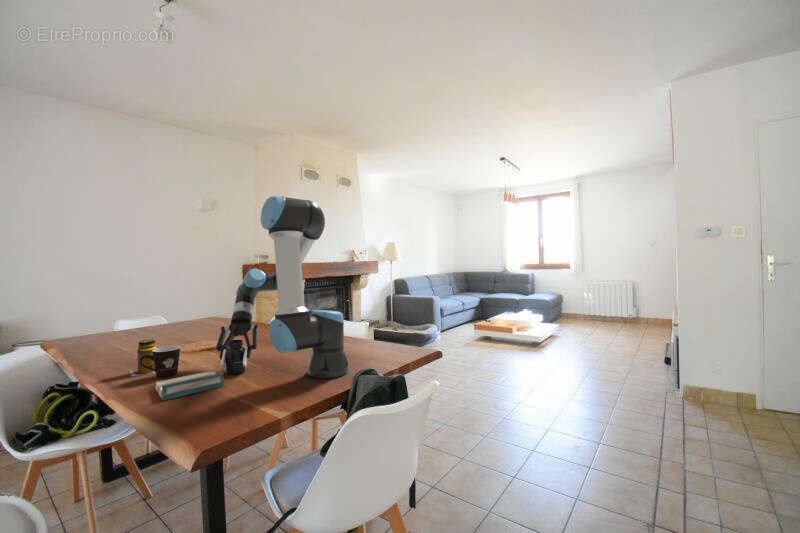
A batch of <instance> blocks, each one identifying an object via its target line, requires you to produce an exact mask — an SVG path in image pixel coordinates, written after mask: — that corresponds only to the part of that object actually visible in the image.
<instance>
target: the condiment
mask: <svg viewBox="0 0 800 533" xmlns="http://www.w3.org/2000/svg"><path fill="white" fill-rule="evenodd" d="M137 343H138V348H137V355H136V356H137V370H133V371H129V374H130V376H131V377H137V376H143V375H149V374H156V372H155V371H153V370H150V369H148V368H145V367H143V366H142V365H141V364H140V359H141V358H142V357H143V356H146V355H151V356H153V352H152V350H154V349H157V348H158V347H157V346H156V340H155V339H145V340H140V341H138V342H137ZM142 364H143V365H145V366H147V367H150V368H153V369H155V365H154V361H153V360H152V358H150V357H145V358H143V359H142Z"/></svg>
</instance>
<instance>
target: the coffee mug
mask: <svg viewBox="0 0 800 533" xmlns="http://www.w3.org/2000/svg"><path fill="white" fill-rule="evenodd" d="M152 352H153V356H151V355H146V356H143V357H142V358H141V359H140V364H141V365H142V366H143V367H145V368H148V369H150V370H153V371H155V375H156V376H155V377H156V379H159V380H161V379H163V380H166V379H169V378H170V379H171V378H175V377H176V376H178V372H179V362H180V355H181V354H180V352H181V346H179V345H178V346H177V345H173V346H172V345H169V346H162V347H157V349H154V350H152ZM145 357H150V358H152V360H153V361H154V365H155V369H153V368H150V367H147V366H145V365H143V364H142V359H143V358H145Z"/></svg>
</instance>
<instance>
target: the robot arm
mask: <svg viewBox="0 0 800 533" xmlns="http://www.w3.org/2000/svg"><path fill="white" fill-rule="evenodd" d="M325 218H326V217H325V214H324V211H323V210H322V208H321V207H320V206H319V204H317V203H316V202H314V201H312V200H309V199H302V198H294V197H287V196H283V195H281V196H278V195H276V196H275V195H273V196H269V197H268V198H267V199H266V200H265V202H264V203H263V206H262V208H261V212H260V225H261V227H262V228H263V229H264V230H267V231H268V237H269V238H271V239H272V240H273V247H274V259H275V273H274V272H273V273H265V272H264V271H263V270H262V269H258V268H251V269H250V270H248V271H247V272H246V274H245V276H244V277H243V279H242V283H241V284H238V287H237V289H236V295H235V301H234V306H233V310H232V316H231V319H230V324H229V325H228V326H221V327H220V328H221V329H220V331H221V332H220V335H219V337H218V341H217V344H216V346H215V349H216V350H217V352H219V359H220V360H221V361H220V368H221V369H226V350H227V349H228V348H229V346H228V345H229V341H231V340H235V338H236V337H240V336H242V337H244V341H245V343H246V347H244V348H245V352H244V358H243V366H244V367H247V365H248V364H247V362H248V359H250V358H251V357H252V356H251V355H252V351H253V350H257V348H258V346H257V345H258V332H259V326H258V325H257V324H255V325H252V321H253V320H252V319H253V313H254V304H255V300H256V298H257V296H258V294H259V293H260V292H273V291H276V292H277V300H278V310H276V312H274V319H272V320H271V321H270V322H269V325H268V326H269V327H268V336H269V340H270V342H271V345H272V347H273V348H274V349H275V351H277V352H278V353H280V354H288V353H295V352H298V351H303V350H309V349H312V351H311V356H310V359H309V362H308V365H307V375H308V376H309V377H310V378H314V379H332V378H333V379H335V378H338V377H342V376H344V375H347V374H348V373H349V372H350V365H349V361H348V358H347V356H346V352H345V344H344V343H345V341H344V340H345V338H344V337H345V336H344V335H345V334H344V326H345V325H344V324H345V323H344V322H345V320H344V315H343V313H342V312H341V311H338V310H337V311H336V310H327V309H325V310H324V309H312V310H311V312H310V309H308V308H307V307H306V304H305V294H304V281H303V280H304V279H303V271H302V270H303V269H302V264H303V262H304V260H305V258H306V257H307V255H308V254H309V252H310V250H311V249H312V247H313V245H314V244H315V241H317V240H319V239H321V236H322V235H323V232H324V230H325V227H326V226H325V225H326V219H325ZM229 331H230V332H229ZM249 331H252V344H251V343H250V339H249V336H248V333H249ZM228 332H229V335H228V336H227V338H226V335H227V334H228Z"/></svg>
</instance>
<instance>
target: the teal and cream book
mask: <svg viewBox="0 0 800 533" xmlns="http://www.w3.org/2000/svg"><path fill="white" fill-rule="evenodd" d="M221 387H224V372H220V373H217V372H215V371H214V370H209V371H204V372H198V373H194V374H188V375H183V376H178V377H172V378H170V379H169V378H167V379H163V380H159V381H155V390H156V392H157V394H158V395H159V397H160V398H161V400H162V401H166V400H171V399H175V398H178V397H183V396H184V397H185V396H187V395H192V394H195V393H196V394H197V393H201V392H204V391H205V392H206V391H209V390H214V389H218V388H221Z"/></svg>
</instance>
